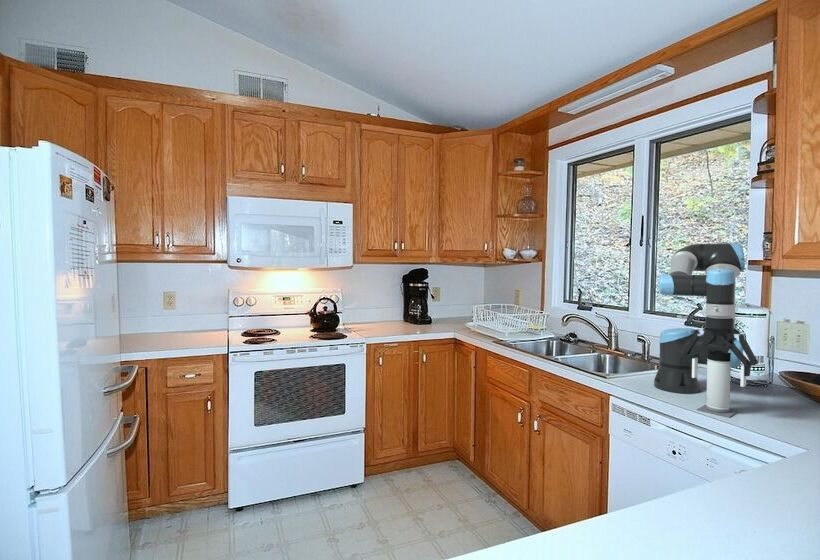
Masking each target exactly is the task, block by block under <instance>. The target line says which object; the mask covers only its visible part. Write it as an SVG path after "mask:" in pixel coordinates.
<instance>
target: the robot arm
mask: <svg viewBox="0 0 820 560" xmlns="http://www.w3.org/2000/svg"><path fill="white" fill-rule="evenodd" d="M745 261H746V260H745V253H744V248H743V246H742V245H741V244H740V243H737V242H735V243H733V242H726V243H722V242H721V243H694V244H690V245H686V246H684V247H682V248H680V249H678V250H677V251H676V252H674V253H673V254H672V257H671V258H670V269H669V271H668V273H666V274H661V275H660V276H659V277H658V293H659V294H660V295H662V296H663V295H664V296H671V297H673V296H679V297H680V296H684V297H685V296H687V297H691V296H692V297H705V298H706V299H705V300H706V301H705V315H706V317H705V321H704V322H705V324H704V325H705V327H703V328H702V330H701V329H699V328H697V329H694V328H690V327H689V328H688V327H683V328H681V327H678V328H677V327H675V328H668V329H664V330H662V331H660V334H659V360H658V361H659V365H658V366H659V367H658V369H657V371H656V374H655V377H654V379H653V387H655V388H657V389H659V390H662V391H666V392H670V393H677V394H696V393H699V392H700V382H699V380H698V369H699V368H698V365H706V366H707V361H708V360H707V358H708V350H716V351H722V352H725V353H727V352H728V353H731V358H730V359H731V362H730V363H731V368H739V367H740V386H739V387H742V388H744V387H746V386H747V377H750V376H751V367H752V366H756V365H758V364H759V361H758V359H757V357H756V355H755V354H754V352H753V350H752V348H751V347H750V344H749V343H748V341H747V336H746V335H747V334H746V333H741V332H740V330H739V329H737V328H736V279H737V278H738V277H740V275H741V272H744V271H745V267H746V264H745V263H746V262H745ZM693 272H704V274H693ZM744 353H745V355H744Z"/></svg>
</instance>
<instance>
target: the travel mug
mask: <svg viewBox="0 0 820 560" xmlns="http://www.w3.org/2000/svg"><path fill="white" fill-rule="evenodd" d="M730 358H731V353H728V352H727V353H725V352H722V351H716V350H708V358H707V360H708V361H707V365H706V397H705V399H706V401H705V402H706V403H705V405H706V408H707V409H708V410H710V411H713V412H718V413H728V412H729V411H730V410H731V409H730V406H731V405H730V404H731V368H732V367H731V363H730V362H731V359H730Z"/></svg>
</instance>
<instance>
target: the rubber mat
mask: <svg viewBox="0 0 820 560" xmlns="http://www.w3.org/2000/svg"><path fill="white" fill-rule="evenodd" d="M696 410H697V412H698V411H699V412H704V413H707V414H708V413H709V414H711V415H716V416H719V417H720V416H721V417H725V418H731V417H733V416H734V415H737V413H739V411H738V410H734V409H730V411H729V412H728V413H718V412H713V411H710V410H708V409H707V408H706V404H704V405H702V406H700V407H698V408H697V409H696Z"/></svg>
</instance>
